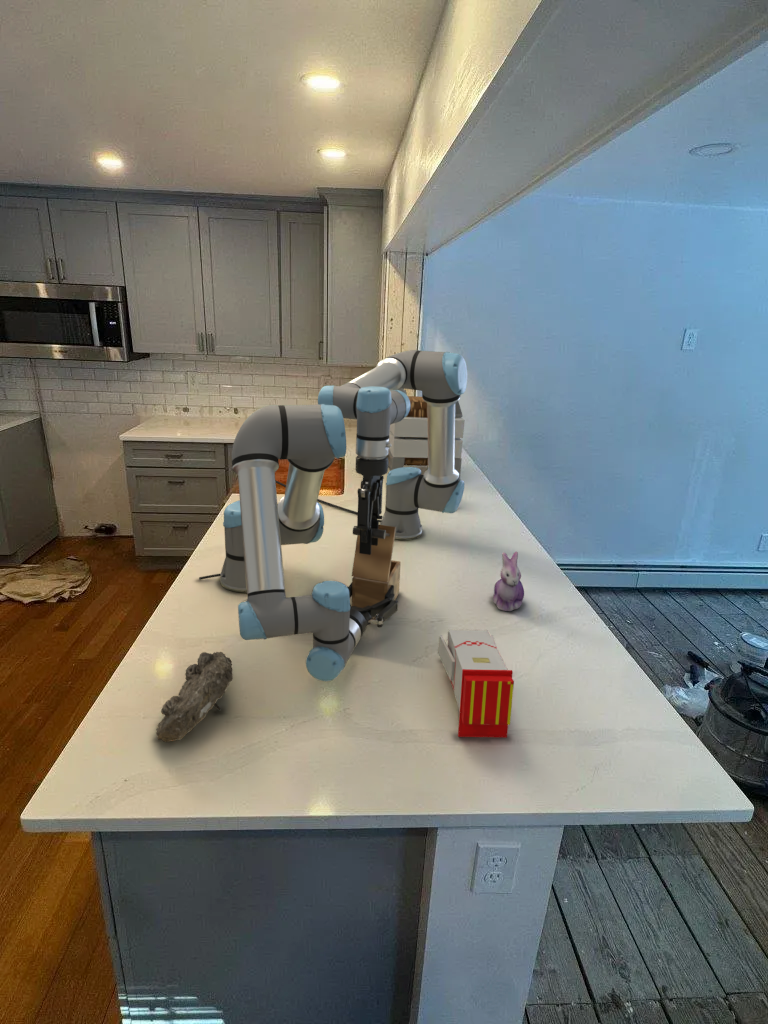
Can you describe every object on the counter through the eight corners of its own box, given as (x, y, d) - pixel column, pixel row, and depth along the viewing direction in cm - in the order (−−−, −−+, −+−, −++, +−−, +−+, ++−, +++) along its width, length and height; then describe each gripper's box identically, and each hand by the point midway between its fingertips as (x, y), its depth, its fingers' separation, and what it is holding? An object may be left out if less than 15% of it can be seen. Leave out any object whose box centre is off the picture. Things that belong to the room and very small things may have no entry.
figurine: (506, 615, 149) (513, 563, 144) (482, 598, 157) (488, 548, 152) (534, 608, 153) (541, 558, 148) (509, 592, 161) (516, 543, 156)
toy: (488, 613, 130) (523, 677, 101) (484, 667, 133) (517, 744, 104) (435, 612, 130) (455, 676, 101) (432, 666, 133) (451, 743, 103)
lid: (360, 522, 145) (350, 520, 137) (396, 527, 143) (388, 525, 134) (352, 576, 145) (342, 577, 136) (388, 581, 142) (380, 584, 134)
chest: (366, 587, 160) (367, 556, 157) (399, 592, 158) (400, 561, 154) (351, 611, 148) (352, 578, 144) (386, 617, 146) (387, 584, 142)
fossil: (183, 653, 120) (233, 621, 115) (215, 683, 122) (265, 653, 117) (132, 735, 100) (190, 701, 95) (171, 768, 103) (229, 737, 98)
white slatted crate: (382, 463, 289) (386, 382, 275) (445, 464, 293) (451, 384, 279) (390, 482, 257) (394, 392, 243) (460, 483, 261) (468, 394, 247)
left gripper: (300, 635, 132) (333, 592, 152) (392, 653, 126) (414, 606, 147) (300, 607, 129) (334, 567, 149) (394, 624, 124) (415, 580, 144)
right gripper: (376, 467, 121) (373, 566, 129) (397, 449, 138) (392, 537, 145) (343, 463, 123) (341, 561, 131) (367, 446, 139) (364, 533, 147)
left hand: (373, 586), depth 148 cm, fingers closed on chest, 9 cm apart
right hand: (368, 548), depth 138 cm, fingers open, 5 cm apart
